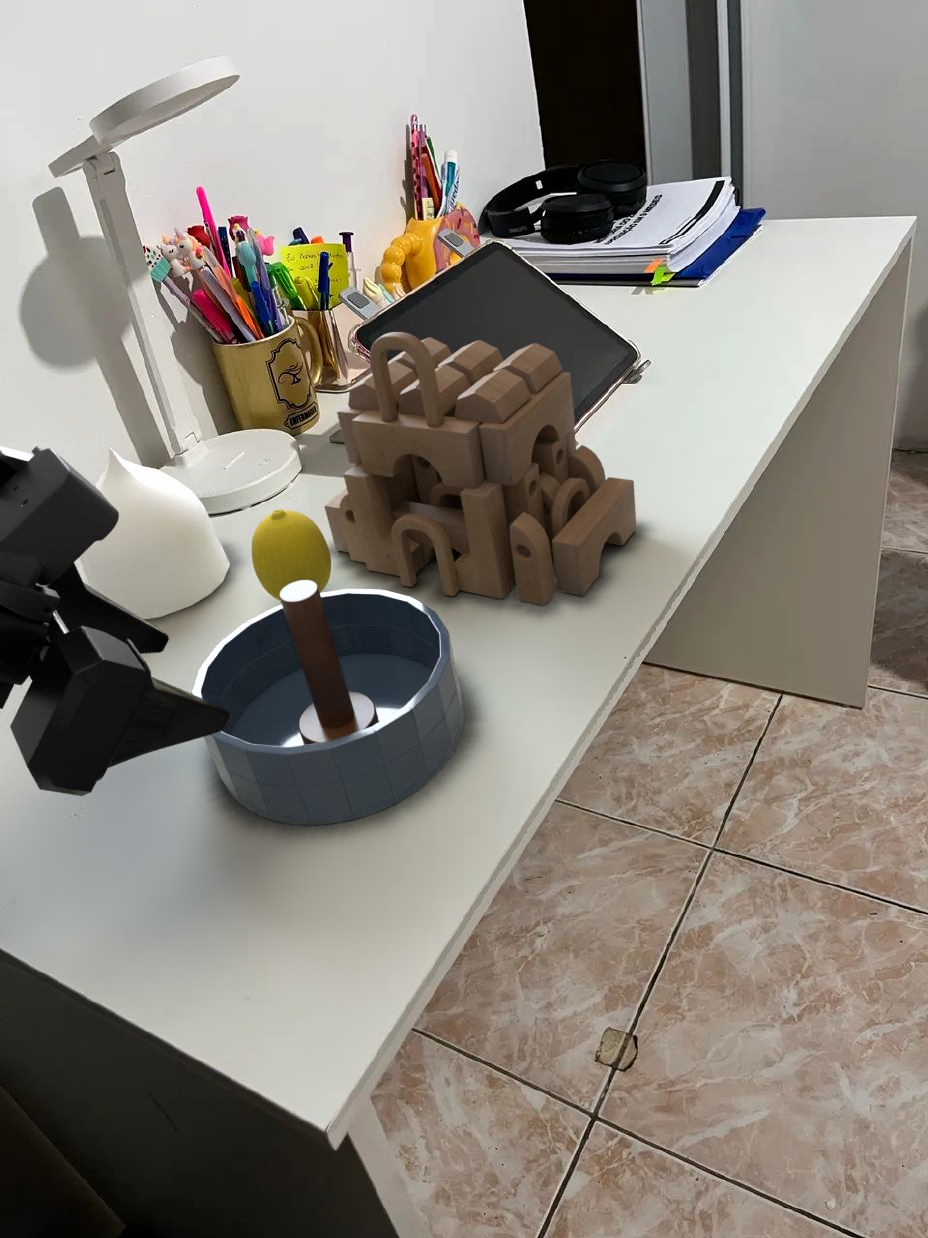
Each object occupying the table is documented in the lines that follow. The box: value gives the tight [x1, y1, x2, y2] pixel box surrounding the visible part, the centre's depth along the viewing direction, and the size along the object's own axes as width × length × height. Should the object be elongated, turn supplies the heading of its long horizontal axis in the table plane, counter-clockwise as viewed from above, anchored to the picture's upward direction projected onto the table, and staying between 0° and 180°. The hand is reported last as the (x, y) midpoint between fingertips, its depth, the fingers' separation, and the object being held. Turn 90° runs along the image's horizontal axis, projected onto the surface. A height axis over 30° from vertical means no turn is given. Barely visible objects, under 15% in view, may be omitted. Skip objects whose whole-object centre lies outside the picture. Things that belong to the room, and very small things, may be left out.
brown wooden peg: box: [279, 580, 378, 745], centre depth 55 cm, size 5×5×10 cm
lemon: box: [251, 508, 332, 601], centre depth 69 cm, size 6×6×8 cm
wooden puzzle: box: [323, 331, 637, 606], centre depth 69 cm, size 22×15×19 cm, turn 59°
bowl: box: [190, 588, 464, 826], centre depth 57 cm, size 15×15×6 cm
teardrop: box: [78, 446, 231, 620], centre depth 74 cm, size 11×11×12 cm
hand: (193, 679), depth 51 cm, fingers open, 9 cm apart
